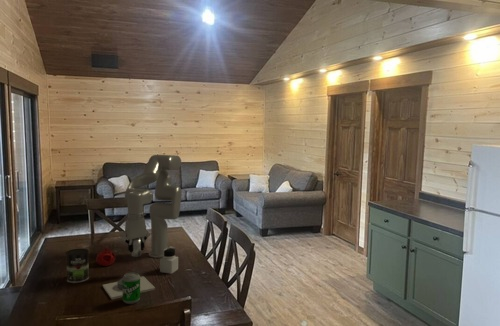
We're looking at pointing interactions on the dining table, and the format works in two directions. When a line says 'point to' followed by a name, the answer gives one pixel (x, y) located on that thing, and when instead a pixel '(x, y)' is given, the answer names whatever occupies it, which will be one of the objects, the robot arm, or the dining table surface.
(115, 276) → the dining table surface
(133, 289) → the soda can
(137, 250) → the piston
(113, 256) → the pomegranate
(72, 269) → the coffee can
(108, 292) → the ring board
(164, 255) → the medicine bottle
